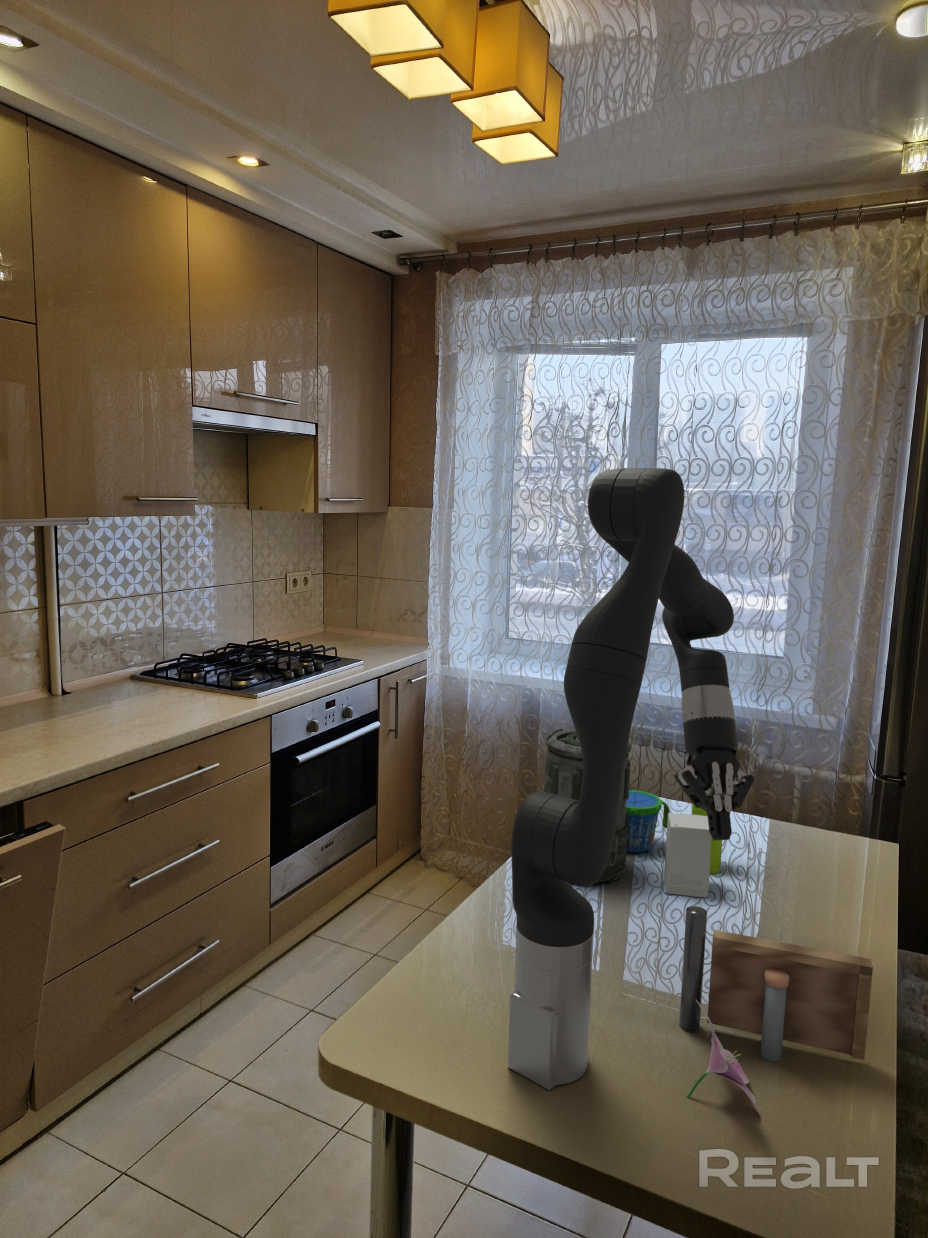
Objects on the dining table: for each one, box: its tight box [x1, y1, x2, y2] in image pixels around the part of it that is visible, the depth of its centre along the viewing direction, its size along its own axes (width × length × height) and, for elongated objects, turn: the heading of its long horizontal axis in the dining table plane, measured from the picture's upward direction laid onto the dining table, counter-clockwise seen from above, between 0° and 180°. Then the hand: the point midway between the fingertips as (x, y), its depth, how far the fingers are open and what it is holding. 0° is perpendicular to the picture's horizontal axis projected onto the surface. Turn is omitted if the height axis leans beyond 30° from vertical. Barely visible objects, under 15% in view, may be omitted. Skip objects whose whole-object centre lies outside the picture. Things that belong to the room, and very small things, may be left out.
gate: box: [706, 929, 874, 1061], centre depth 101 cm, size 18×2×12 cm, turn 70°
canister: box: [544, 728, 632, 884], centre depth 152 cm, size 16×16×28 cm
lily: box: [686, 1000, 761, 1116], centre depth 93 cm, size 12×12×10 cm
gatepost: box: [678, 905, 708, 1033], centre depth 105 cm, size 3×3×16 cm
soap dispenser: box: [691, 788, 723, 875], centre depth 154 cm, size 6×7×20 cm
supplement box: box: [663, 812, 712, 899], centre depth 146 cm, size 7×7×13 cm
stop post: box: [760, 968, 789, 1063], centre depth 100 cm, size 3×3×11 cm
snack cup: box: [626, 789, 671, 854], centre depth 164 cm, size 16×10×10 cm
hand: (721, 839), depth 115 cm, fingers closed
